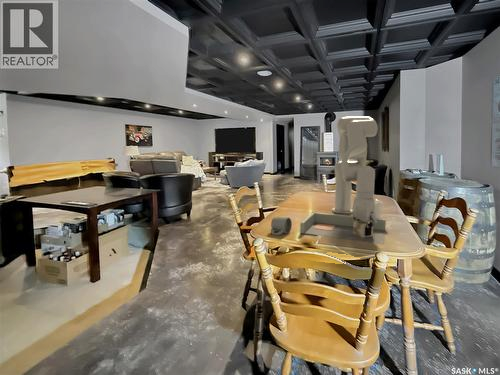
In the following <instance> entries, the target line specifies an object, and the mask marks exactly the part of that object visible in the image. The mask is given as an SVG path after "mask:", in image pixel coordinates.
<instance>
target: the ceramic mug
mask: <svg viewBox="0 0 500 375" xmlns="http://www.w3.org/2000/svg"><path fill="white" fill-rule="evenodd" d="M270 224H271V225H270V227H271V229H270V233H271V235H272V236H280V235H282V234H287V235H288V234H289V233H290V232H291V230H292V226H293V224H292V219H291V217H287V216H285V217H284V216H275V217H273V218H272V220H271V223H270ZM273 231H274V232H273Z"/></svg>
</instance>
